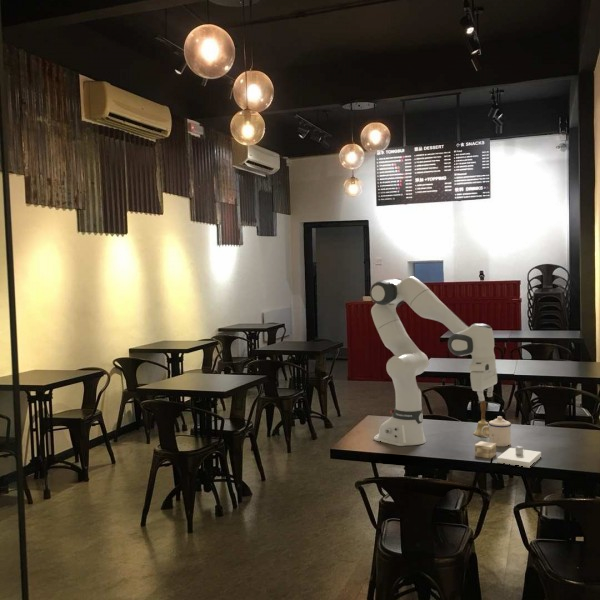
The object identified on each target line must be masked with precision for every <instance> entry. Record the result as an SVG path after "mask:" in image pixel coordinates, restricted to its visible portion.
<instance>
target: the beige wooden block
mask: <svg viewBox="0 0 600 600" xmlns="http://www.w3.org/2000/svg"><path fill="white" fill-rule="evenodd" d="M496 455H497V446H496V443H490V442H489V441H481V440H479V441H478V442H476V443H475V444H474V457H479V458H485V459H493V458H494V457H495V456H496Z"/></svg>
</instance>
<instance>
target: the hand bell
mask: <svg viewBox="0 0 600 600" xmlns="http://www.w3.org/2000/svg"><path fill="white" fill-rule="evenodd" d="M479 407H480V413H481V414H480V415H481V417H480V418H481V419H480V420H479V421H478V422H477V425H476V426H477V427H476V429H475V431H474V432H473V435H475V436H477V437H485V436H484V435H483V434H482V428H483V427H484V426H489V421H486V410H487V402H486V399H485V400H484V401H480V406H479ZM483 432H484V434H485V435H487V436H489V428H484V429H483Z"/></svg>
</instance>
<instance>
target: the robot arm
mask: <svg viewBox="0 0 600 600" xmlns="http://www.w3.org/2000/svg"><path fill="white" fill-rule="evenodd" d="M369 296H370V298H371V301H372V302H373V303H374V304H373V306H372V307H371V310H370V314H371V317H372V320H373V323H374V326H375V328H376V331H377V333H378V334H379V337H380V340H381V341H382V343H383V344H384V346H385V347H386V348H387V349H388V350H390V352H392V354H393V356H392V357H390V358H389V359H388V360H387V362H386V367H385V368H386V372H387V373H386V374H388V375H389V377H390V378H391V379H392V383H393V387H394V393H395V408H393V409H392V410H390V414H391V415H392V416H391V417H390V418H388V419H387V420H385V421H383V423H381V424H380V427H379V429H378V430H379V432H378V433H377V434H376V435H375V436H374V437H373V441H376V442H377V441H378V442H380V441H381V443H384V444H389V445H392V446H393V445H394V446H398V447H405V446H417V445H422V444H425V443H426V437H425V434H424V428H423V427H424V426H423V421H424V420H423V419H424V417H423V415H424V414H423V408H422V391H421V389H420V388H419V386H418V383H417V379H416V378H417V377H416V376H418V375H421V374H423V373H424V372H425V371H426V370H427V369H428V367H429V365H430V364H429V363H430V362H429V361H430V360H429V358H428V356H427V354H425V352H423V351H422V350H420V349H419V347H418V346H417V345H416V344H415V342H414V341H413V340H412V339H411V338H410V335H409V334H408V333H407V331H406V328H405V327H404V325H403V323H402V321H401V319H400V317H399V315H398V313H397V309H396V308H397V307H398V308H399V307H400V306H401V305H402V304H403V303H404V302H405V303H406V304H407V305H408V306H409V307H410V309H412V311H414V313H416V314H417V315H418V316H419V317H421V318H423V319H428V320H432V321H436V322H438V323H441V324H443V325H444V326H445V327H446V328H447V329H448V330H449V331H450V332H451V333H453V334H452V335H450V336H449V338H448V339H447V347H448V350H449V352H450V353H452V354H453V355H454V356H457V357H463V356H468V355H471V363H470V364H469V365H468V371H469V372H470V374H469V375H470V376H469V378H470V387H471V389H472V391H474V392H476V394H477V396H478V401H479V402H481V401H484V400H485V401H486V399H485V395H484V391H485V390H486V389H487V392H486V397H488V398H491V397H493V396H494V395H493V391H494V386H495V385H497V383H498V371H497V368H496V355H495V350H494V348H495V337H494V331H493V328H492V327H491V325H489V324H486V323H479V322H477V323H473V324H471V325H470V326H468V325H467V324H466V322H464V321H463V320H462V319H461V318H460V317H459V316H457V314H455V312H453V310H451V309H450V308H449V307H448V306H447V305H446V304H445V303H443V301H441V300H440V299H439V297H438V296H437V295H436V294H435V293H434V292H433V291H432V289H430V288H429V287H428V286H427V285H426V284H425V283H424V282H422V281H421V280H420V279H418V278H417V277H415V276H413V275H412V276H407V277H405V278H403V279H402V278H388V279H385V280H379V281H376V282H375V283H373V284H372V285H371V287H370V290H369ZM452 354H451V355H452Z"/></svg>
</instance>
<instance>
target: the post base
mask: <svg viewBox="0 0 600 600" xmlns="http://www.w3.org/2000/svg"><path fill="white" fill-rule="evenodd" d="M540 457H541V458H542V451H538V450H537V451H535V450H530V449H524V446H521V445H516V446H515V447H509V448H507V449H506V450H505V451H504V452H502V453H501V454H500V455H498V456H497V459H496V461H497V462H496V463H498V464H503V463H505V464H504V465H509V464H510V465H509V466H515V465H519V466H518V467H521V466H523V467H522V468H529V469H530V468H531V467H532V466H533V465H534V464H535V463H537V461H538V460H539V459H541V458H540ZM534 462H535V463H534ZM533 463H534V464H533ZM532 464H533V465H532ZM531 465H532V466H531ZM530 466H531V467H530Z"/></svg>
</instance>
